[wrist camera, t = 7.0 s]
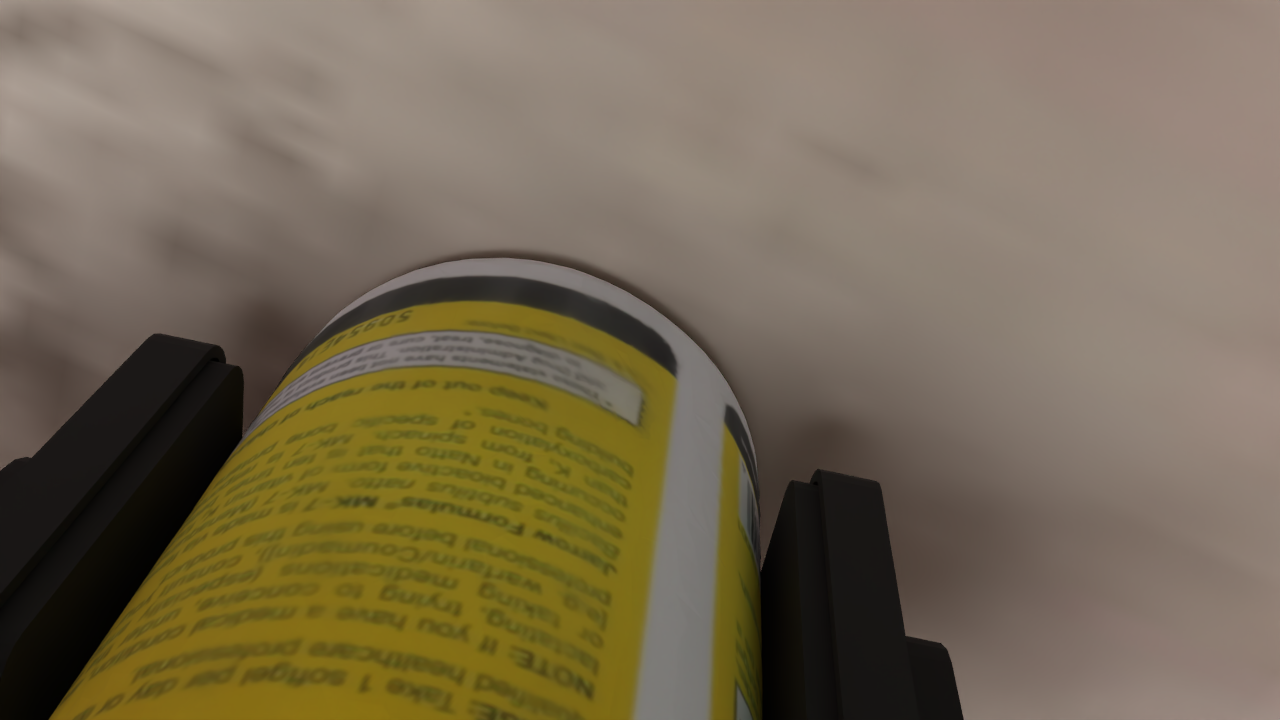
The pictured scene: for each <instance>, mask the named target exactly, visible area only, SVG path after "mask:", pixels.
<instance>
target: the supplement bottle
mask: <svg viewBox="0 0 1280 720" xmlns="http://www.w3.org/2000/svg"><path fill="white" fill-rule="evenodd" d="M760 559H761V555H760V506H759V484H758V472H757V461H756V455H755V450H754V445H753V442H752V438H751V434H750V431H749V428H748V425H747V422H746V419H745V417H744V414H743V412H742V410H741V408H740V406H739V403H738V401H737V399H736V397H735V396H734V394H733V392H732V390H731V388H730V386H729V385H728V383H727V381H726V380H725V378H724V377H723V375H722V374H721V372H720V371H719V369H718V368H717V367H716V366H715V365H714V363H713V362H712V361H711V360H710V359H709V357H708V356H707V355H706V354H705V352H704V351H703V350H702V349H701V348H700V347H699V346H698V345H697V344H696V343H695V342H694V341H693V340H692V339H691V338H690V337H688V336H687V335H686V334H685V333H684V332H683V331H682V330H681V329H680V328H678V327H677V326H676V325H675V324H674V323H672V322H671V321H670V320H669V319H667V318H666V317H665V316H663V315H662V314H661V313H659V312H658V311H657V310H655V309H654V308H652V307H651V306H650V305H648V304H646V303H645V302H643V301H641V300H640V299H638V298H636V297H635V296H633V295H632V294H630V293H628V292H627V291H625V290H623V289H621V288H619V287H617V286H615V285H613V284H611V283H609V282H607V281H604V280H601V279H599V278H596V277H594V276H591V275H589V274H587V273H584V272H581V271H578V270H575V269H572V268H568V267H564V266H559V265H555V264H550V263H546V262H541V261H534V260H525V259H515V258H480V259H464V260H458V261H451V262H445V263H441V264H437V265H433V266H429V267H425V268H422V269H418V270H414V271H412V272H409V273H407V274H404V275H402V276H399V277H397V278H394V279H392V280H390V281H388V282H386V283H384V284H382V285H380V286H378V287H376V288H374V289H372V290H370V291H369V292H367V293H366V294H364V295H363V296H361V297H360V298H358V299H357V300H355V301H354V302H352V303H351V304H349V305H348V306H347V307H345V308H344V309H343V310H342V311H340V312H339V313H338V314H337V315H336V316H335V317H334V318H333V319H332V320H331V321H330V322H329V323H328V324H327V325H326V326H325V327H324V328H323V329H322V330H321V331H320V332H319V333H318V334H317V335H316V336H315V338H314V339H313V340H312V341H311V342H310V343H309V344H308V346H307V347H306V348H305V349H304V350H303V351H302V353H301V354H300V355H299V356H298V358H297V359H296V360H295V361H294V363H293V364H292V365H291V366H290V368H289V369H288V370H287V372H286V373H285V375H284V377H283V378H282V380H281V381H280V383H279V384H278V386H277V388H276V389H275V391H274V392H273V394H272V396H271V397H270V398H269V400H268V401H267V402H266V404H265V405H264V407H263V408H262V409H261V411H260V412H259V414H258V416H257V417H256V419H255V420H254V421H253V422H252V423H251V425H250V427H249V428H248V430H247V431H246V433H245V435H244V436H243V438H242V439H241V441H240V442H239V444H238V445H237V446H236V448H235V449H234V451H233V452H232V453H231V455H230V456H229V458H228V459H227V460H226V462H225V464H224V465H223V466H222V468H221V469H220V470H219V472H218V473H217V474H216V476H215V477H214V479H213V480H212V482H211V483H210V485H209V486H208V488H207V489H206V491H205V492H204V494H203V495H202V497H201V498H200V500H199V501H198V503H197V504H196V506H195V507H194V509H193V510H192V512H191V513H190V515H189V516H188V517H187V519H186V520H185V522H184V523H183V525H182V526H181V528H180V529H179V531H178V532H177V534H176V535H175V536H174V538H173V539H172V540H171V542H170V543H169V545H168V546H167V547H166V549H165V550H164V552H163V553H162V555H161V556H160V558H159V559H158V561H157V562H156V564H155V565H154V566H153V568H152V569H151V571H150V572H149V574H148V575H147V577H146V578H145V580H144V581H143V583H142V584H141V586H140V587H139V589H138V590H137V591H136V593H135V594H134V596H133V597H132V599H131V600H130V602H129V603H128V604H127V606H126V607H125V609H124V610H123V612H122V613H121V615H120V616H119V618H118V619H117V620H116V622H115V623H114V625H113V626H112V628H111V629H110V631H109V632H108V634H107V635H106V636H105V638H104V639H103V641H102V642H101V644H100V645H99V647H98V648H97V650H96V651H95V652H94V654H93V655H92V657H91V658H90V660H89V661H88V663H87V664H86V665H85V667H84V668H83V670H82V671H81V673H80V674H79V676H78V677H77V679H76V680H75V682H74V683H73V684H72V686H71V687H70V689H69V690H68V692H67V693H66V695H65V696H64V698H63V699H62V701H61V702H60V703H59V705H58V706H57V708H56V709H55V711H54V712H53V714H52V715H51V717H50V718H49V720H762V656H761V652H762V634H761V597H760V596H761V569H760Z"/></svg>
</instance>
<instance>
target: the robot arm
mask: <svg viewBox="0 0 1280 720" xmlns="http://www.w3.org/2000/svg"><path fill="white" fill-rule="evenodd" d="M243 391H244V379H243V372H242V369H241V368H240V367H239V366H235V365H230V364H226V358H225V354H224V351H223V349H222V348H221V347H220V346H218V345H213V344H208V343H203V342H198V341H193V340H189V339H184V338H179V337H174V336H169V335H164V334H153V335H152V336H150V337H149V338H148V339H147V340H146V341H145V342H144V343H143V344H142V345H141V346H140V347H139V348H138V349H137V350H136V351H135V352H134V353H133V354H132V355H131V356H130V357H129V358H128V359H127V360H126V361H125V362H124V363H123V364H122V365H121V366H120V367H119V368H118V369H117V371H116V372H115V373H114V374H113V375H112V376H111V377H110V378H109V379H108V380H107V381H106V382H105V383H104V384H103V385H102V386H101V387H100V388H99V389H98V390H97V391H96V392H95V393H94V394H93V395H92V396H91V397H90V398H89V399H88V400H87V401H86V402H85V404H84V405H83V406H82V407H81V408H80V409H79V410H78V411H77V412H76V413H75V414H74V415H73V416H72V417H71V418H70V419H69V420H68V421H67V422H66V423H65V424H64V425H63V426H62V427H61V428H60V429H59V430H58V431H57V432H56V433H55V434H54V435H53V437H52V438H51V439H50V440H49V441H48V442H47V443H46V444H45V445H44V446H43V447H42V448H41V449H40V450H39V451H38V452H37V453H36V454H35V455H34V456H33V457H32V458H29V457H24V458H20V459H16V460H14V461H12V462H11V463H10V464H8V465H7V466H6V467H4V468H3V469H2V470H1V471H0V720H49V718H50V717H51V715H52V714H53V712H54V711H55V709H56V708H57V706H58V705H59V703H60V702H61V701H62V699H63V698H64V696H65V695H66V693H67V692H68V690H69V689H70V687H71V686H72V684H73V683H74V682H75V680H76V679H77V677H78V676H79V674H80V673H81V671H82V670H83V668H84V667H85V665H86V664H87V663H88V661H89V660H90V658H91V657H92V655H93V654H94V652H95V651H96V650H97V648H98V647H99V645H100V644H101V642H102V641H103V639H104V638H105V636H106V635H107V634H108V632H109V631H110V629H111V628H112V626H113V625H114V623H115V622H116V620H117V619H118V618H119V616H120V615H121V613H122V612H123V610H124V609H125V607H126V606H127V604H128V603H129V602H130V600H131V599H132V597H133V596H134V594H135V593H136V591H137V590H138V589H139V587H140V586H141V584H142V583H143V581H144V580H145V578H146V577H147V575H148V574H149V572H150V571H151V569H152V568H153V566H154V565H155V564H156V562H157V561H158V559H159V558H160V556H161V555H162V553H163V552H164V550H165V549H166V547H167V546H168V545H169V543H170V542H171V540H172V539H173V538H174V536H175V535H176V534H177V532H178V531H179V529H180V528H181V526H182V525H183V523H184V522H185V520H186V519H187V517H188V516H189V515H190V513H191V512H192V510H193V509H194V507H195V506H196V504H197V503H198V501H199V500H200V498H201V497H202V495H203V494H204V492H205V491H206V489H207V488H208V486H209V485H210V483H211V482H212V480H213V479H214V477H215V476H216V474H217V473H218V472H219V470H220V469H221V468H222V466H223V465H224V464H225V462H226V460H227V459H228V458H229V456H230V455H231V453H232V452H233V451H234V449H235V448H236V446H237V445H238V444H239V442H240V441H241V439H242V427H243ZM760 597H761V634H762V652H761V656H762V720H964V719H963V714H962V710H961V705H960V700H959V695H958V691H957V686H956V681H955V676H954V671H953V667H952V662H951V660H950V657H949V654H948V651H947V649H946V648H945V647H944V646H943V645H942V644H941V643H937V642H932V641H928V640H923V639H918V638H913V637H908V636H905V630H904V624H903V617H902V611H901V605H900V599H899V593H898V587H897V581H896V575H895V569H894V563H893V557H892V551H891V545H890V539H889V533H888V527H887V521H886V515H885V509H884V503H883V497H882V491H881V487H880V484H879V483H878V482H877V481H873V480H868V479H863V478H859V477H854V476H849V475H844V474H839V473H834V472H830V471H825V470H820V469H818V470H817V471H815V473H814V474H813V476H812V478H811V481H810V484H808V483H803V482H799V481H794V480H792V481H791V482H790V483H789V485H788V487H787V490H786V492H785V495H784V499H783V502H782V505H781V508H780V512H779V515H778V518H777V521H776V525H775V528H774V531H773V534H772V538H771V541H770V544H769V548H768V551H767V554H766V557H765V561H764V564H763V567H762V570H761V596H760Z"/></svg>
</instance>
